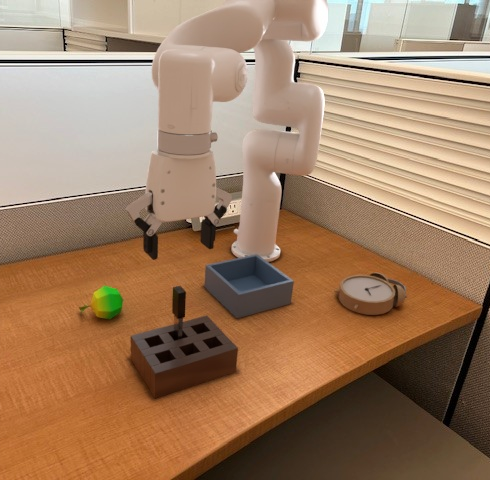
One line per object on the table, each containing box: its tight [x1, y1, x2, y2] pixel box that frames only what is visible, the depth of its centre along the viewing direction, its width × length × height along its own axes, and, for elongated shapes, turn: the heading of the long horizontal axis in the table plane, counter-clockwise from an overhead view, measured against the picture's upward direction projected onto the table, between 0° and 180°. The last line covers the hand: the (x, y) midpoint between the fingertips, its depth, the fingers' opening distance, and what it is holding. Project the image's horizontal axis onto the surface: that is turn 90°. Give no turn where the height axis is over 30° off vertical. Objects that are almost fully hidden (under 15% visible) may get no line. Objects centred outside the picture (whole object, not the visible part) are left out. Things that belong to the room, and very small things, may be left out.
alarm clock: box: [333, 271, 408, 316], centre depth 104 cm, size 11×5×15 cm
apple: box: [78, 285, 124, 320], centre depth 94 cm, size 7×6×9 cm
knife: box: [171, 285, 187, 341], centre depth 81 cm, size 2×1×14 cm, turn 28°
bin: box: [203, 254, 295, 319], centre depth 103 cm, size 14×14×6 cm
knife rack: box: [130, 315, 239, 399], centre depth 82 cm, size 11×15×5 cm
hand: (179, 250), depth 75 cm, fingers open, 9 cm apart
